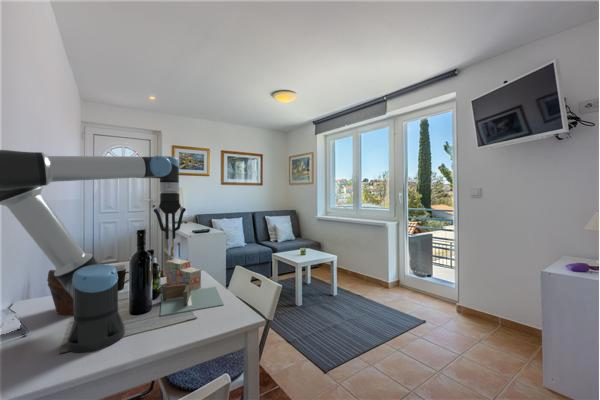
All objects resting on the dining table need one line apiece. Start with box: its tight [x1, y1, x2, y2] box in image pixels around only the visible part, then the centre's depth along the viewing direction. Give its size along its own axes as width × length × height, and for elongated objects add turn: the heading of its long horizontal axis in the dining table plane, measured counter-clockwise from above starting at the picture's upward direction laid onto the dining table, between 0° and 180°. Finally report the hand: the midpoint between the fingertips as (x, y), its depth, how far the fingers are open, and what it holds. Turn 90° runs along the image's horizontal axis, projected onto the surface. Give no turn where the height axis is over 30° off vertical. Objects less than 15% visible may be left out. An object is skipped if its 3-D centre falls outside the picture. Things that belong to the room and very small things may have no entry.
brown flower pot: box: [46, 269, 74, 316], centre depth 114 cm, size 18×20×18 cm
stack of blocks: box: [165, 258, 202, 290], centre depth 142 cm, size 21×6×12 cm, turn 56°
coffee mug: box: [114, 266, 130, 292], centre depth 136 cm, size 12×9×10 cm
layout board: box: [159, 286, 224, 317], centre depth 122 cm, size 24×24×1 cm
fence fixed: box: [161, 281, 190, 301], centre depth 123 cm, size 2×11×7 cm, turn 115°
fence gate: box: [183, 285, 190, 306], centre depth 119 cm, size 1×11×6 cm, turn 16°
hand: (170, 246), depth 120 cm, fingers closed
